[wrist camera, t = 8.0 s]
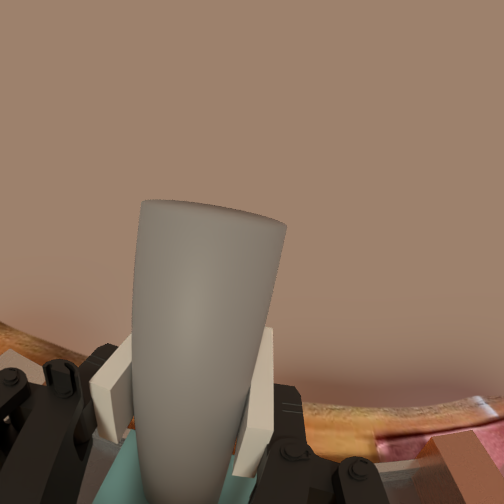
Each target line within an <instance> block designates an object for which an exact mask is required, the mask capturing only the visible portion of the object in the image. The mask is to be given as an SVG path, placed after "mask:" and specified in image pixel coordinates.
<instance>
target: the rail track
mask: <svg viewBox="0 0 504 504" xmlns="http://www.w3.org/2000/svg"><path fill="white" fill-rule="evenodd" d="M9 367H13V368H18V369H20V370H22V371H23V372H24V373H25V374H26V376H27V379H28V382H31V383H35V384H40V385H45V386H47V385H46V381H45V377H44V372H43V368H42V366H40V365H38V364H36V363H35V362H33V361H31V360H29V359H27V358H25V357H24V356H22V355H20V354H18V353H17V352H15V351H13V350H12V349H9V350H7V351H6V352H5V353H3V354H2V355H1V356H0V370H2V369H4V368H9ZM8 419H9V417H8V416H7V417H6V418H5V419H4V421H6V420H8ZM130 430H131V429H128V428H127V429H126V431H125V432H124V434H123V436H122V438H121V440H120V441H119V443H118V444H116V443H114V442H111V441H109V440H106V439H104V438H102V437H99V434H98V429H97V428H96V429H95V431H94V433H93V434H92V437H93V446H92V449H91V453H90V456H89V459H88V463H87V466H86V470H85V473H84V477H83V481H82V484H81V488H80V492H79V496H78V500H77V504H92V503H93V501H94V499H95V497H96V495H97V493H98V491H99V489H100V487H101V485H102V483H103V481H104V479H105V477H106V475H107V474H108V472H109V470H110V468H111V466H112V464H113V462H114V460H115V458H116V456H117V454H118V453H119V451H120V449H121V447H122V445H123V443H124V441H125V439H126V437H127V436H128V434H129V432H130ZM373 464H375V466H376V468H377V469H378V471H379V474H380V477H381V480H382V483H383V485H384V488H385V491H386V494H387V497H388V500H389V503H390V504H504V478H503V476H502V475H501V473H500V471H499V470H498V468H497V467H496V465H495V463H494V462H493V460H492V459H491V457H490V456H489V454H488V453H487V451H486V450H485V448H484V447H483V445H482V444H481V442H480V441H479V439H478V438H477V436H476V435H475V433H474V432H473V430H469V431H464V432H459V433H453V434H447V435H441V436H434V437H431V438H430V440H429V441H428V442H427V444H426V445H425V446H424V448H423V449H422V450H421V452H420V453H419V454H418V455H417V457H416V458H415V459H412V460H404V461H395V462H385V463H373Z"/></svg>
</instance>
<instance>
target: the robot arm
mask: <svg viewBox="0 0 504 504" xmlns="http://www.w3.org/2000/svg"><path fill="white" fill-rule="evenodd" d="M42 368H43V372H44V377H45V381H46V385H47V386H45V385H40V384H35V383H31V382H28V379H27V376H26V374H25V373H24V372H23V371H22V370H20V369H18V368H13V367H9V368H4V369H2V370H0V504H77V500H78V496H79V492H80V488H81V484H82V481H83V477H84V473H85V470H86V466H87V463H88V459H89V456H90V453H91V449H92V446H93V437H92V434H93V433H94V431H95V429H96V428H97V429H98V434H99V437H102V438H104V439H106V440H109V441H111V442H114V443H116V444H118V443H119V441H120V440H121V438H122V436H123V434H124V432H125V431H126V429H127V427H128V425H129V423H130V422H131V420H132V418H133V416H134V406H133V388H132V333H131V334H130V335H129V336H128V337H127V339H126V340H125V341H124V342H123V343H122V344H121V345H120V346H119V347H117V346H115V345H112V344H109V343H107V344H105V345H103V346H100V347H98V348H97V349H96V350H95V351H94V352H93V353H92V354H91V356H89V357H88V358H87V359H86V361H84V362H83V363H82V364H81V365H80V366H79V367H77V366H76V365H75V364H74V363H72V362H70V361H68V360H63V359H55V360H51V361H48V362H46V363H45V364H44V365H43V366H42ZM7 416H8V417H9V419H8V420H6V421H4V419H5V418H6V417H7ZM256 473H257V480H256V484H255V486H254V488H253V490H252V492H251V495H250V497H249V498H250V499H249V501H248V504H390V503H389V500H388V497H387V494H386V491H385V488H384V485H383V483H382V480H381V477H380V474H379V471H378V469H377V468H376V466H375V464H373V463H372V462H371V461H370V460H368V459H365V458H363V457H356V456H354V457H349V458H346V459H345V460H343V461H342V462H341V463H337V462H334V461H330V460H326V459H324V458H321V457H319V456H317V455H316V454H314V452H313V450H312V449H311V447H310V446H309V445H308V444H307V441H306V434H305V426H304V417H303V409H302V401H301V395H300V394H299V392H298V391H297V389H296V388H295V387H294V386H288V385H280V384H274V383H273V328H269V327H264V331H263V336H262V340H261V344H260V348H259V352H258V356H257V360H256V364H255V369H254V373H253V377H252V381H251V384H250V388H249V392H248V396H247V400H246V404H245V408H244V412H243V415H242V419H241V423H240V427H239V431H238V435H237V443H236V450H235V457H234V464H233V471H232V475H235V476H241V477H248V478H255V476H256Z"/></svg>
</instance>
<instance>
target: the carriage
mask: <svg viewBox="0 0 504 504" xmlns="http://www.w3.org/2000/svg"><path fill="white" fill-rule="evenodd" d="M286 229H287V226H286V225H285V224H284V223H282V222H280V221H277V220H275V219H272V218H268V217H265V216H261V215H258V214H254V213H249V212H246V211H241V210H236V209H232V208H226V207H221V206H215V205H208V204H202V203H195V202H186V201H175V200H145V201H142V203H141V210H140V218H139V226H138V236H137V245H136V255H135V267H134V282H133V301H132V388H133V406H134V419H135V430H133V429H131V430H130V432H129V434H128V436H127V437H126V439H125V441H124V443H123V445H122V447H121V449H120V451H119V453H118V454H117V456H116V458H115V460H114V462H113V464H112V466H111V468H110V470H109V472H108V474H107V475H106V477H105V479H104V481H103V483H102V485H101V487H100V489H99V491H98V493H97V495H96V497H95V499H94V501H93V503H92V504H248V501H249V499H250V498H249V497H250V495H251V492H252V490H253V488H254V486H255V484H256V480H257V473H256V476H255V478H248V477H241V476H235V475H232V471H233V464H234V457H235V455H232V453H233V449H234V445H235V442H236V438H237V434H238V431H239V427H240V423H241V419H242V415H243V412H244V408H245V404H246V400H247V396H248V392H249V388H250V384H251V381H252V377H253V373H254V369H255V364H256V360H257V356H258V352H259V348H260V344H261V340H262V336H263V331H264V327H265V323H266V319H267V314H268V310H269V306H270V301H271V297H272V293H273V288H274V284H275V279H276V275H277V270H278V266H279V261H280V257H281V252H282V248H283V243H284V238H285V234H286Z"/></svg>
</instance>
